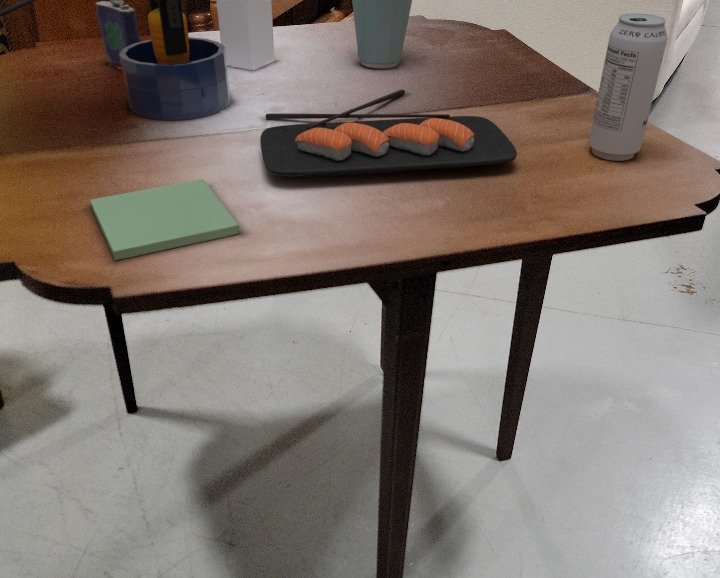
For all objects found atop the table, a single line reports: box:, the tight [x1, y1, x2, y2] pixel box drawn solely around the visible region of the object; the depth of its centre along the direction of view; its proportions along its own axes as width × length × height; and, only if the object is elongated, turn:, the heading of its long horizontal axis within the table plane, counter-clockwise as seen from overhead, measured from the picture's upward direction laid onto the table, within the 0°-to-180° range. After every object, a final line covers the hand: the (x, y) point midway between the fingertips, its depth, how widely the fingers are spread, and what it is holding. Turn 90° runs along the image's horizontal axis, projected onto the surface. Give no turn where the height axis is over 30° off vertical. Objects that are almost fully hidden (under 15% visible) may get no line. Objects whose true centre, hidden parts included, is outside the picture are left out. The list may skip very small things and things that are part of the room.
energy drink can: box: [588, 12, 669, 162], centre depth 83 cm, size 6×6×15 cm
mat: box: [89, 178, 240, 261], centre depth 73 cm, size 12×12×1 cm
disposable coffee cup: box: [351, 0, 413, 69], centre depth 112 cm, size 11×11×15 cm
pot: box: [119, 36, 231, 121], centre depth 99 cm, size 14×14×7 cm
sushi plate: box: [259, 89, 518, 178], centre depth 91 cm, size 29×30×4 cm
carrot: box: [147, 1, 189, 64], centre depth 96 cm, size 5×5×15 cm
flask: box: [94, 0, 142, 70], centre depth 111 cm, size 9×3×11 cm, turn 46°
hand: (171, 47), depth 97 cm, fingers closed on carrot, 5 cm apart
